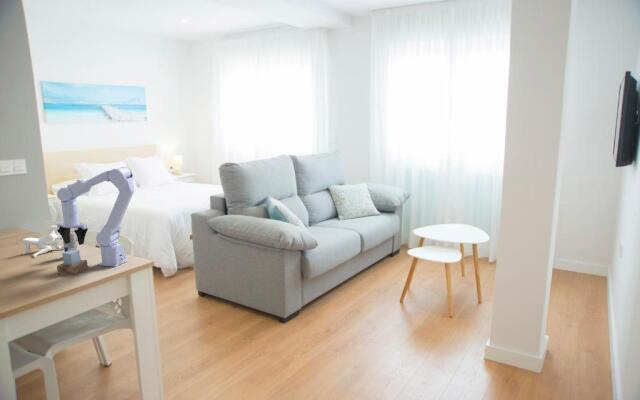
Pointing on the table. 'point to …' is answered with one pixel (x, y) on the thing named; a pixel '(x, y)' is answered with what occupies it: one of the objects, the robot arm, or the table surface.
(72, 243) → the energy drink
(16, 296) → the table surface
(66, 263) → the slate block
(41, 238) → the person figurine
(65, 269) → the walnut block
